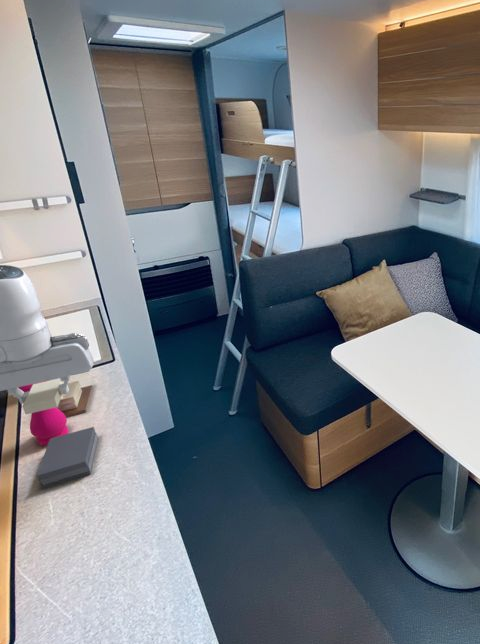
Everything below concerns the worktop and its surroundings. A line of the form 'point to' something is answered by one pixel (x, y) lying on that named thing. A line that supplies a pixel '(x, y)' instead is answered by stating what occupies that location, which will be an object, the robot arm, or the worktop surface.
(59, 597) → the worktop surface
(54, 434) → the pepper mill
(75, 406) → the ivory pile
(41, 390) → the ivory book
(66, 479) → the grey pile
